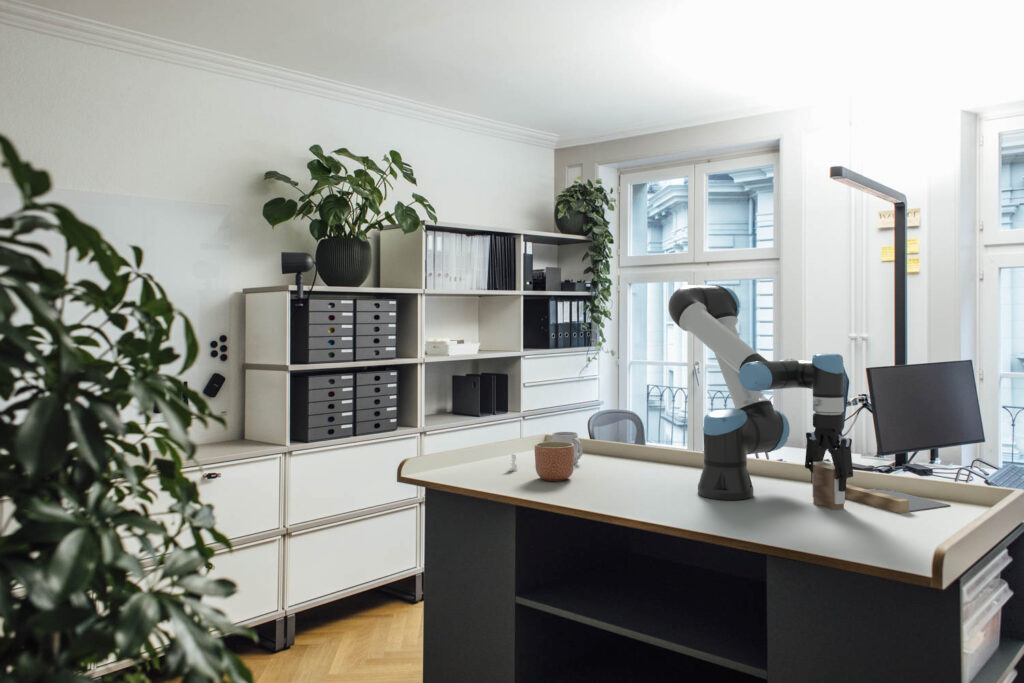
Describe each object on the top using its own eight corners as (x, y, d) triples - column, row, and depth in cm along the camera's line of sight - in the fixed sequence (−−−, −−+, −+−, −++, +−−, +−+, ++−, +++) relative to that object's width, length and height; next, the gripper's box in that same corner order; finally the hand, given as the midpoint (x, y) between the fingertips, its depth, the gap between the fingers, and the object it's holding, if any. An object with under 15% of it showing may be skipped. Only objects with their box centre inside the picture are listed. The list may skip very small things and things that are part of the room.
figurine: (508, 475, 246) (508, 456, 246) (497, 471, 253) (496, 453, 253) (529, 472, 250) (529, 454, 250) (517, 468, 257) (517, 450, 257)
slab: (813, 503, 201) (813, 461, 201) (823, 502, 203) (823, 460, 202) (833, 509, 195) (833, 466, 194) (843, 508, 196) (843, 465, 196)
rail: (833, 494, 211) (833, 484, 211) (842, 493, 212) (842, 483, 212) (899, 513, 190) (899, 501, 190) (908, 512, 191) (908, 500, 191)
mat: (843, 493, 212) (843, 492, 212) (881, 488, 217) (881, 487, 217) (910, 511, 192) (910, 510, 192) (950, 506, 197) (950, 504, 197)
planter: (569, 484, 229) (568, 448, 229) (529, 482, 233) (529, 446, 233) (578, 476, 241) (578, 441, 241) (541, 474, 245) (540, 440, 245)
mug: (550, 460, 269) (550, 432, 269) (577, 459, 270) (576, 431, 270) (555, 466, 258) (555, 436, 258) (583, 464, 259) (582, 435, 259)
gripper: (789, 409, 206) (790, 493, 207) (846, 418, 187) (846, 510, 188) (811, 408, 209) (811, 490, 209) (869, 416, 190) (869, 507, 191)
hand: (828, 500), depth 199 cm, fingers closed on slab, 7 cm apart
